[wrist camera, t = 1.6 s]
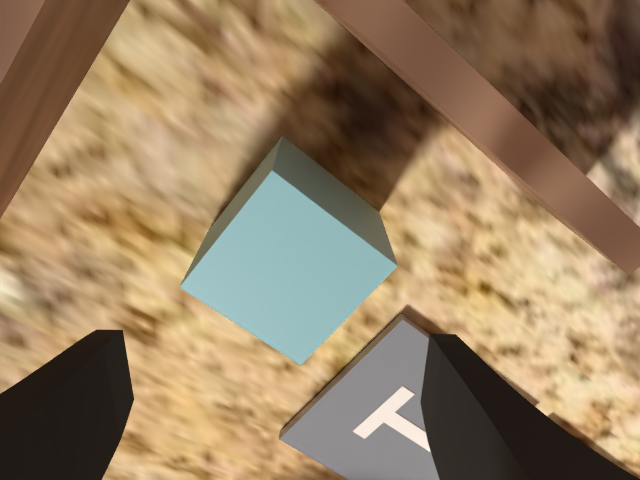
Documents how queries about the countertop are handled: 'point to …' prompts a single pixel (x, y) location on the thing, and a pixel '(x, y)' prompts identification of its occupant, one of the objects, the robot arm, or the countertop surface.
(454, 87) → the walnut screen
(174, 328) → the countertop surface
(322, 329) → the light blue cube
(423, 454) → the tile
